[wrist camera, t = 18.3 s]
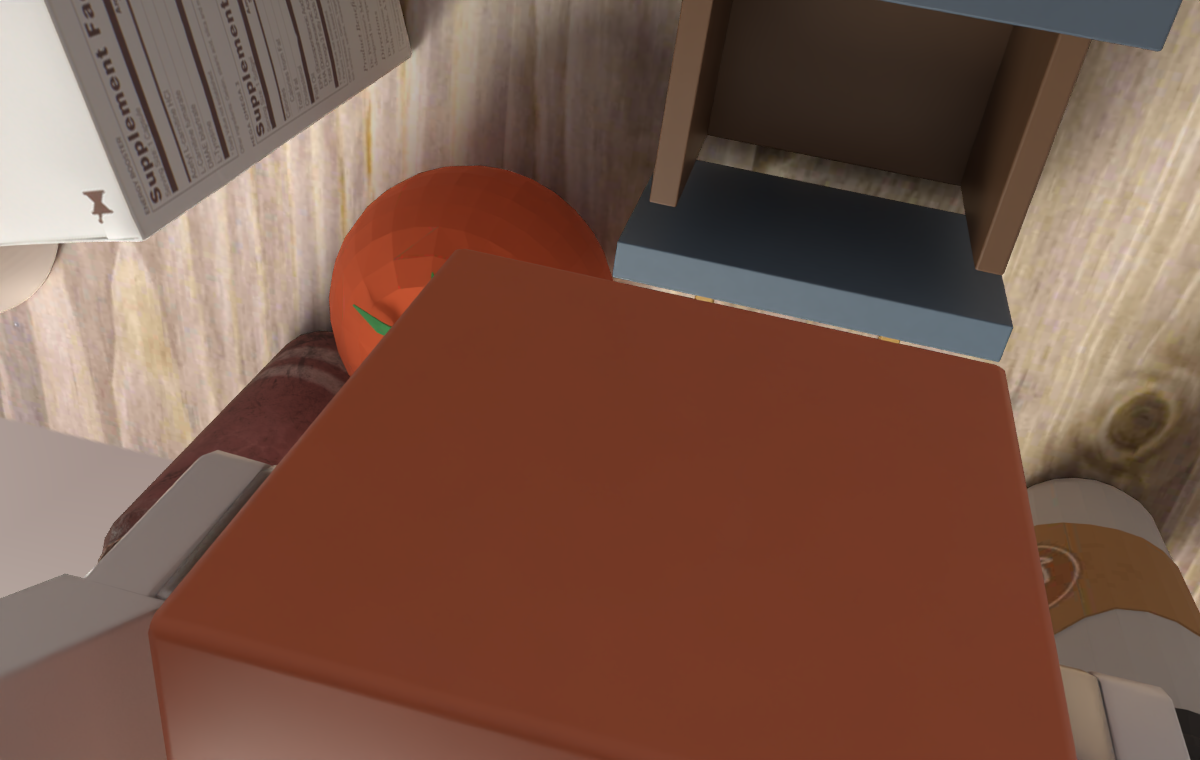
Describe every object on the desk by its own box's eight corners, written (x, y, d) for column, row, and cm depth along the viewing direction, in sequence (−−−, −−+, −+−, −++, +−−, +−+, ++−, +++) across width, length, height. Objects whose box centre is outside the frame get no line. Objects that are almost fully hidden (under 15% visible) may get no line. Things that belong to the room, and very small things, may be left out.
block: (434, 627, 11) (208, 1076, 7) (454, 242, 9) (137, 621, 5) (860, 740, 10) (845, 1284, 7) (1008, 362, 8) (1111, 889, 4)
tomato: (678, 332, 42) (628, 481, 34) (459, 391, 46) (365, 537, 38) (577, 89, 38) (491, 190, 30) (345, 176, 42) (212, 287, 33)
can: (424, 352, 45) (266, 568, 34) (394, 462, 49) (242, 691, 37) (293, 299, 45) (89, 495, 34) (272, 412, 49) (82, 625, 37)
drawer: (936, 367, 39) (948, 493, 33) (637, 300, 41) (591, 409, 34) (1134, -186, 29) (1206, -162, 23) (730, -250, 31) (690, -245, 24)
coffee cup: (1081, 412, 40) (1171, 722, 28) (1231, 542, 41) (1382, 892, 29) (915, 530, 44) (928, 844, 32) (1056, 644, 46) (1121, 987, 33)
